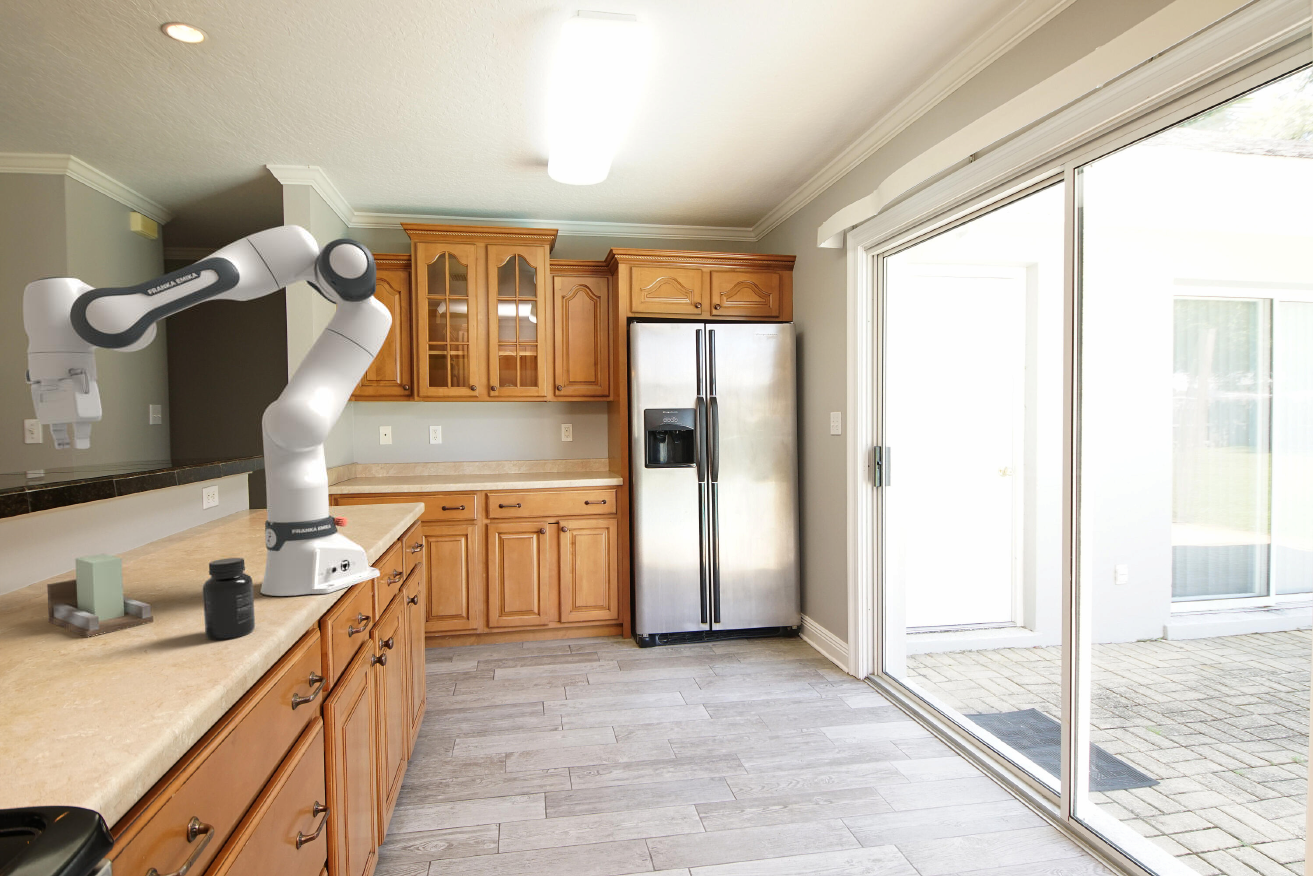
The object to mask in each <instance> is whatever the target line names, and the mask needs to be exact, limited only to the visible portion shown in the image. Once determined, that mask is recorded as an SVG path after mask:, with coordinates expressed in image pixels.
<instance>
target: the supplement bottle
mask: <svg viewBox="0 0 1313 876" xmlns="http://www.w3.org/2000/svg"><path fill="white" fill-rule="evenodd" d="M208 570H209V571H208V575H210V578H208V579H207V580H206V581H205V582H204V583H203V585H202V597H203V598H202V599H203V600H202V602H203V615H204V616H203V618H204V631H205V634H204V635H205V636H206V638H208V639H209V640H212V641H224V640H230V639H232V640H233V639H235V638H236V639H237V638H239V637H243V636H246V635H249V634H250V633H252V632H253V631H254V629H255V628H256V624H255V623H256V620H255V619H256V616H255V600H254V599H255V598H254V584H253V578H252V577H251V575H250V574H247V573H245V572H244V571H245V570H246V567H245V559H244V558H243V557H229V558H220V559H215V560H213V561H211V562H209V563H208Z"/></svg>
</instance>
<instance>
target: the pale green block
mask: <svg viewBox="0 0 1313 876" xmlns="http://www.w3.org/2000/svg"><path fill="white" fill-rule="evenodd" d="M74 560H75V579H76V581H77V602H78V609H79V610H82V611H85V612H87V613H90V614H93V615H95V616H98V617H99V621H103V620H108V619H112V618H116V617H121V616H124V601H123V596H124V584H123V581H124V580H123V579H124V578H123V564H122V563H123V561H122V558H121V557H117V556H115V555H111V554H110V555H109V554H107V553H103V554H102V553H101V554H94V555H89V556H84V557H83V556H82V557H77V558H76V557H75V559H74Z"/></svg>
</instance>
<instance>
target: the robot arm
mask: <svg viewBox="0 0 1313 876" xmlns="http://www.w3.org/2000/svg"><path fill="white" fill-rule="evenodd" d="M301 281H303V282H304V281H305V282H306V283H307V285H308V286H310V287H311V288H312V289H313V290H315V291H316V292H317V293H318V294H319V295H320V296H321V297H323V298H324V299H325V300H326V301H328V302H330V303H331V304H334V305H335V306H336V310H335V312H334V314H333V316H332V318H331V319H330V321H329V322H328V324H327V325H326V326H325V327H324V329H323V330H322V332H321V334H320V335H319V336H318V338H317V339H316V341H314V343H313V345H312V346H311V348H310V349H309V350H308V352H307V353H306V355H305V356H304V358H303V359H302V361H301V362H300V364H299V366H298V368H297V369H296V371H294V374H293V375H292V377H291V378H290V380H289V381H288V383H287V384H286V386H285V387H284V389H283V391H282V392H281V394H280V395H279V397H278V399H277V400H275V401H273V402H271V403H270V404H269V405H268V407H267V408H266V409H265V410H264V413H263V415H262V420H261V425H262V441H263V443H262V445H263V456H264V458H263V459H264V470H265V471H264V472H265V482H266V483H265V487H266V514H267V516H266V517H267V519H266V521H265V522H264V523H265V524H264V534H265V535H264V536H265V537H264V538H265V539H264V540H265V545H266V547H265V548H266V549H267V550H266V551H267V552H266V562H265V569H264V575H263V580H262V584H261V586H260V591H259V592H260V593H262V595H267V596H274V597H275V596H277V597H285V596H289V597H290V596H301V595H311V594H312V595H317V594H318V595H321V594H329V593H333V592H336V591H338V590H343V589H344V588H347V587H350V586H354V585H356V584H359V583H362V582H365V581H368V580H372V579H374V578H377V577H380V575H381V574H380V570H379V569H378V568H375V567H372V566H369V561H368V555H367V553H366V551H365V549H364V548H363V547H362V545H359V544H358V543H356V542H354V541H352V540H351V539H349V538H348V537H346V536H345V535H343V534H342V533H340V532H338V528H337V527H342V528H344V527H346V526H347V524H348V523H349V520H348V518H347V517H346V516H345V517H344V516H343V517H342V516H337V517H334V516H332V515H330V507H329V506H330V503H329V477H328V473H327V472H328V470H327V463H326V457H325V447H324V442H325V440H326V439H327V438H328V437H329V435H330V432H331V431H332V429H333V428H334V426H335V425H336V423H337V421H338V420H339V418H340V416H341V414H342V413H343V411H344V409H345V408H346V405H347V403H348V401H349V400H350V397H351V396H352V394H353V392H354V391H355V389H356V387H357V385H358V384H359V383H360V381H361V380H362V378H363V377H364V375H365V374H366V372H367V371H368V369H369V368H370V366H371V365H372V363H373V362H374V360H375V359H376V357H377V355H378V353H380V350H381V349H382V346H383V345H384V342H385V341H386V338H387V336H388V335H389V331H390V329H391V328H392V323H393V318H392V314H391V312H390V311H389V309H388V307H386V305H385V304H383V302H382V301H379V300H378V299H377V298H376V297H375V296H374V295H375V293H376V291H377V265H376V261H375V258H374V255H373V254H372V252H371V251H370V250H369V248H367V247H366V246H365V244H363V243H361V242H360V241H357V240H355V239H352V238H351V239H350V238H337V239H334V240H332V241H330V242H328V243H326V245H325V246H322V245H321V244H319V243H318V242H317V241H316V239H315V238H314V236H313V235H312V234H311V233H310V232H309V231H308V230H307V229H305V228H304V227H302V226H300V225H297V224H287V225H282V226H281V225H280V226H277V227H271V228H268V229H265V230H262V231H259V232H256V233H252V234H250V235H248V236H245V237H243V238H241V239H237V240H236V241H234V242H232V243H229V244H227V245H226V246H223V247H221V248H220V249H218V250H216V251H215V252H213V253H211V254H210V255H208V256H206V257H204V258H202V259H201V260H198V261H197V262H195V263H193V264H190V265H187V266H185V267H183V268H180V269H177V270H174V271H172V272H169V273H166V274H163V275H161V276H157V277H156V278H153V279H150V280H147V281H145V282H144V281H143V282H142V283H139V284H135V285H131V286H124V287H121V286H120V287H119V286H118V287H117V286H116V287H99V288H98V287H97V288H96V287H93V286H91V285H89V284H87V283H85V282H83V281H82V280H80V279H79V278H76V277H73V276H72V277H71V276H50V277H49V276H48V277H44V278H38V279H36V280H33V281H31V282H29V283H28V284H27V285H26V286H25V289H24V291H23V292H24V293H23V298H22V299H23V301H22V310H23V312H22V314H23V327H24V330H25V332H26V335H27V337H28V348H27V352H26V353H27V361H28V365H27V366H28V367H27V370H26V371H25V375H24V377H25V382H26V384H28V385H31V386H30V390H31V391H30V392H31V398H32V403H33V408H34V412H35V416H36V419H37V421H38V422H39V424H40V425H49V430H50V433H51V435H52V438H53V441H54V447H55V449H56V450H67V449H70V448H71V447H72V446H71V439H70V438H69V436H68V435H69V434H68V424H72V429H73V431H74V438H72V440H73V448H74V449H77V450H85V449H89V448H90V447H91V443H90V436H91V432H92V422H100V421H101V420H102V416H103V409H102V408H103V407H102V403H101V397H100V392H99V387H98V384H97V380H98V374H97V373H98V372H97V365H96V364H97V363H96V355H95V351H96V349H99V348H101V349H108V350H111V351H112V350H113V351H115V352H121V353H132V352H136V351H140V350H143V349H146V348H147V347H149V346H150V345H151V344H152V343H153V342H154V340H155V338H156V337H157V334H158V325H157V322H158V321H160V320H162V319H164V318H168V317H169V316H171V315H175V314H176V313H178V312H181V311H184V310H186V309H188V308H191V307H194V306H196V305H199V304H200V303H204V302H208V301H212V300H233V301H239V302H242V301H243V302H244V301H245V302H246V301H249V300H254V299H257V298H261V297H264V296H267V295H269V294H272V293H274V292H277V291H279V290H281V289H284V288H285V287H288V286H290V285H292V284H294V283H298V282H301Z"/></svg>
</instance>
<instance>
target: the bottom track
mask: <svg viewBox="0 0 1313 876" xmlns="http://www.w3.org/2000/svg"><path fill="white" fill-rule="evenodd" d="M46 588H47V590H46V591H47V607H48V611H47V612H48V622H49V623H51V622H52V624H54V625H56V626H58V625H60V626H59V627H61V626H62V627H61V628H63V627H65V628H64V629H66V628H67V629H66V630H68V629H70V630H72V631H71V632H73V631H74V632H73V633H75V632H77V633H76V634H78V633H79V634H78V635H80V634H82V635H81V636H83V635H84V636H83V637H85V636H87V637H88V636H93V635H96V634H100V633H104V632H109V633H111V632H110V631H113V632H115V631H114V630H117V631H119V630H118V629H121V630H125V629H124V628H126V629H128V628H127V627H130V628H132V627H131V626H134V627H136V626H135V625H138V626H140V625H139V624H142V625H144V624H143V623H146V624H148V623H147V622H150V623H153V622H154V616H153V615H152V609H151V606H152V605H151V604H149V603H147V602H146V603H145V602H143V601H139V600H136V599H133V598H131V597H130V598H129V597H126V596H124V595H123V601H124V616H121V617H116V618H112V619H108V620H103V621H99V617H98V616H95V615H93V614H90V613H87V612H85V611H82V610H79V609H78V602H77V581H76V578H75V579H70V580H66V581H65V580H63V581H59V582H54V583H47V584H46ZM70 630H69V631H70ZM87 637H86V638H87ZM93 637H94V636H93Z"/></svg>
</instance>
